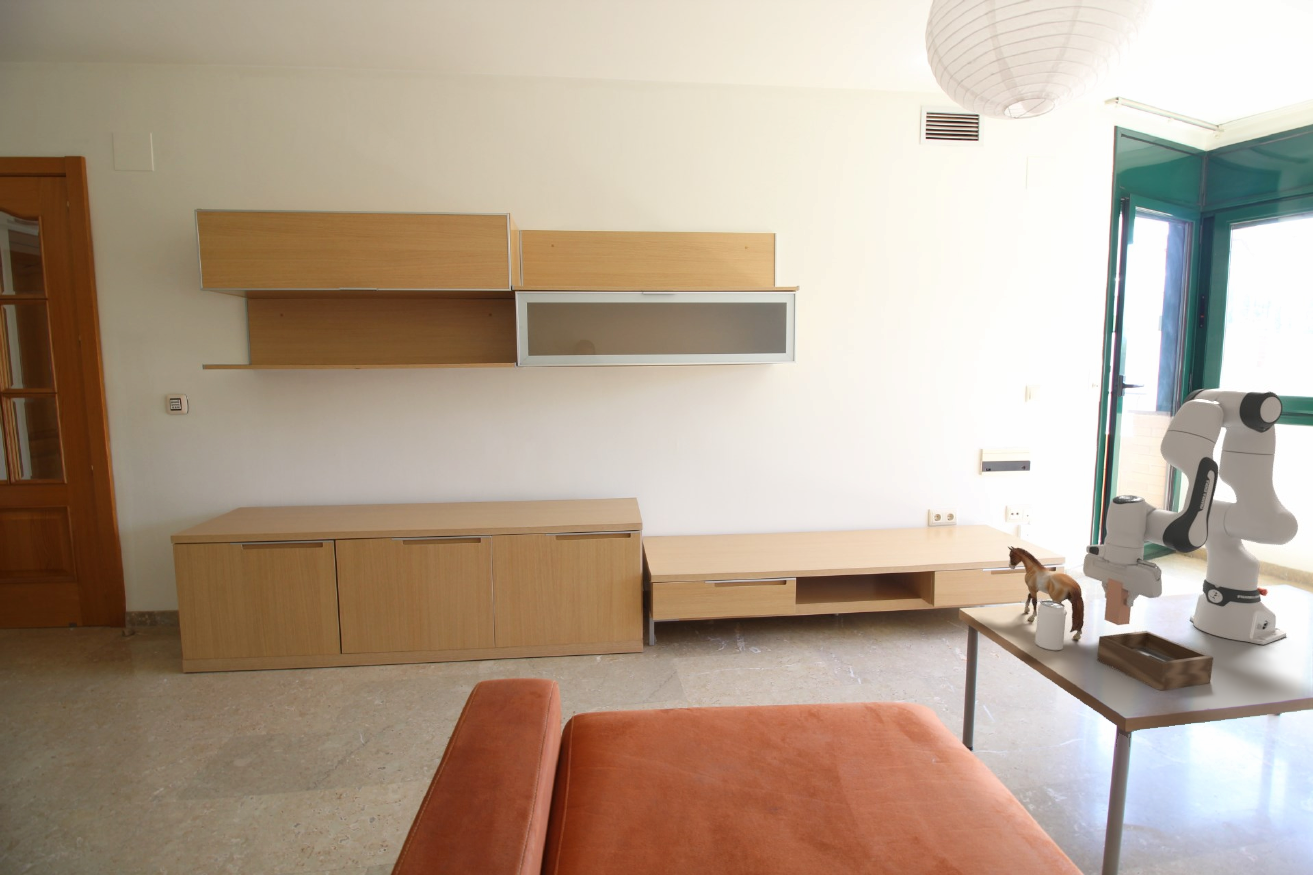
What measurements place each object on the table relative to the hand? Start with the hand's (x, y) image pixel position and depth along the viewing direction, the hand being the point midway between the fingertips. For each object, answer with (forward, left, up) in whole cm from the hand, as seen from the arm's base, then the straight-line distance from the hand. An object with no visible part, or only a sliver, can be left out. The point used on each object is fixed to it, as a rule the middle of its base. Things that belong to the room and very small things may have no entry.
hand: (1118, 602), depth 176 cm
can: (+22, -1, -11) cm, 25 cm away
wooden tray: (+9, +17, -11) cm, 22 cm away
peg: (0, 0, -6) cm, 6 cm away
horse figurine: (+14, -12, -11) cm, 22 cm away
